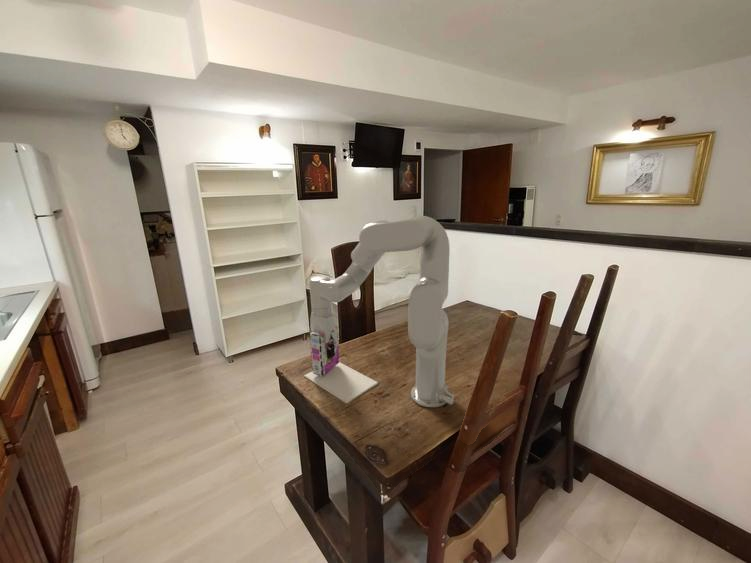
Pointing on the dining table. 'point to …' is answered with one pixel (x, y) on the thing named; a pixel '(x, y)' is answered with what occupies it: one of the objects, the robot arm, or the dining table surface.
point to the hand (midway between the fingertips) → (325, 354)
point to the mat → (343, 382)
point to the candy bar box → (322, 354)
